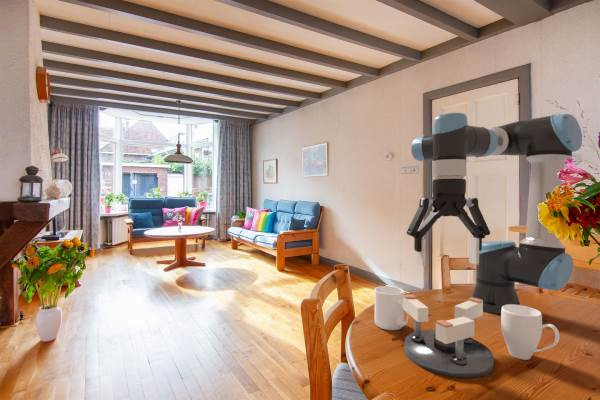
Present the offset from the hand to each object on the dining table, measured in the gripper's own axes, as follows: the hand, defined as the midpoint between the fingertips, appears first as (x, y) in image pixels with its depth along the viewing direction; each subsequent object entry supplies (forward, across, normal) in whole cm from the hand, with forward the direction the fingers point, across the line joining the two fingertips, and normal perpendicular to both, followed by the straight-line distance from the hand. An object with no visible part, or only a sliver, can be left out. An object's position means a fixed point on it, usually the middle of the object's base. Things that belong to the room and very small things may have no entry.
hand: (447, 264), depth 80 cm
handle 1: (+20, +6, -6) cm, 21 cm away
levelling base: (+23, 0, 0) cm, 23 cm away
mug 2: (+23, -19, +4) cm, 30 cm away
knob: (+20, +2, +8) cm, 21 cm away
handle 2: (+20, -8, -3) cm, 21 cm away
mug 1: (+23, +7, -18) cm, 30 cm away
